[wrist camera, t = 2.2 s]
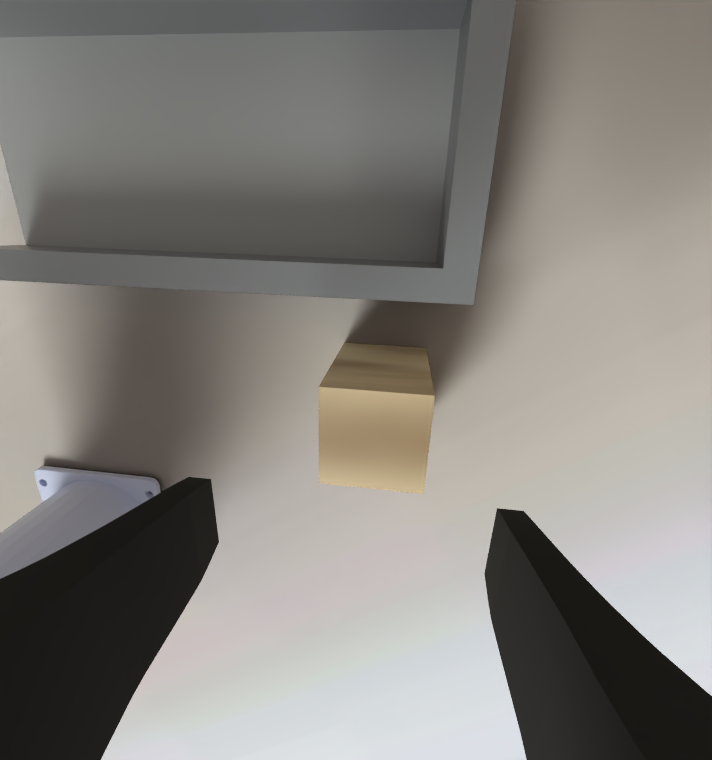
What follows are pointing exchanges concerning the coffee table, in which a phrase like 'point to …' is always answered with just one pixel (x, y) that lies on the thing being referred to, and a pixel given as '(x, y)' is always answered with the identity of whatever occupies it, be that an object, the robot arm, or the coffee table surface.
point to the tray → (253, 143)
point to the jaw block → (376, 418)
